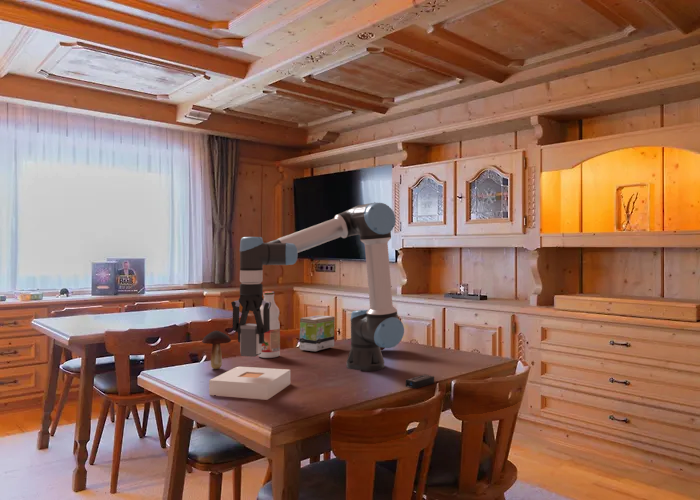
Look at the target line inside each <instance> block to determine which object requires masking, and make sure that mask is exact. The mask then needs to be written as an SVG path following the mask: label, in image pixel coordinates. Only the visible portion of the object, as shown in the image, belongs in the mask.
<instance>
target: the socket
mask: <svg viewBox="0 0 700 500" xmlns="http://www.w3.org/2000/svg"><path fill="white" fill-rule="evenodd" d="M247 373H248V374H263V375H261V376H259V377H257V378H251V377H241V376H243V375H245V374H247ZM208 382H209V383H208V384H209V389H208V391H209V392H208V393H209V394H208V395H209V396H214V395H216V396H217V397H228V398H240V399H241V398H242V399H252V400H262V401H264V400H266V401H268V400H269V399H271V398H273V396H275V395H277V394H278V393H280V392H281V391H283V390H284V389H286V388H287V387H288V386H290V385H291V369H287V368H285V369H284V368H269V367H252V366H236V367H234V368H231V369H229V370H227V371H226V372H223V373H221V374H219V375H217V376H215V377H213V378H211V379H209V381H208Z"/></svg>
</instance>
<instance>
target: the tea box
mask: <svg viewBox="0 0 700 500" xmlns="http://www.w3.org/2000/svg"><path fill="white" fill-rule="evenodd" d="M335 317H336V316H332V315H322V314H321V315H320V314H318V315H312V316H306V317H300V318H299V319H300V320H299V350H303V351H310V352H318V351H322V350H326V349H330V348H334V347H335V331H336V330H335V329H336V328H335V326H336V325H335V323H336V321H335V320H336V319H335Z"/></svg>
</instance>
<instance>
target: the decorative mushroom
mask: <svg viewBox="0 0 700 500" xmlns="http://www.w3.org/2000/svg"><path fill="white" fill-rule="evenodd" d="M231 341H232V339H231V338H230V336H229V335H227V334H226V333H225V332H222V331H220V330H213V331H211V332H209V333H207V334H206V335H205V336H204V337H203V339H202V341H201V343H203V344H209V345H212V346H211V352H210V366H211V368H212V369H213V370H219V369H220V368H221V367H222V366H223V357H222V356H223V355H222V354H223V353H222V348H221V344H228V343H231Z"/></svg>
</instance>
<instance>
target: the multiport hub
mask: <svg viewBox="0 0 700 500" xmlns="http://www.w3.org/2000/svg"><path fill="white" fill-rule="evenodd" d="M433 384H435V376H434V375H430V374H422V375H419V376H414V377H411V378H407V379H405V387H407V388H411V389H418V388H422V387H426V386H429V385H433Z"/></svg>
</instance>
